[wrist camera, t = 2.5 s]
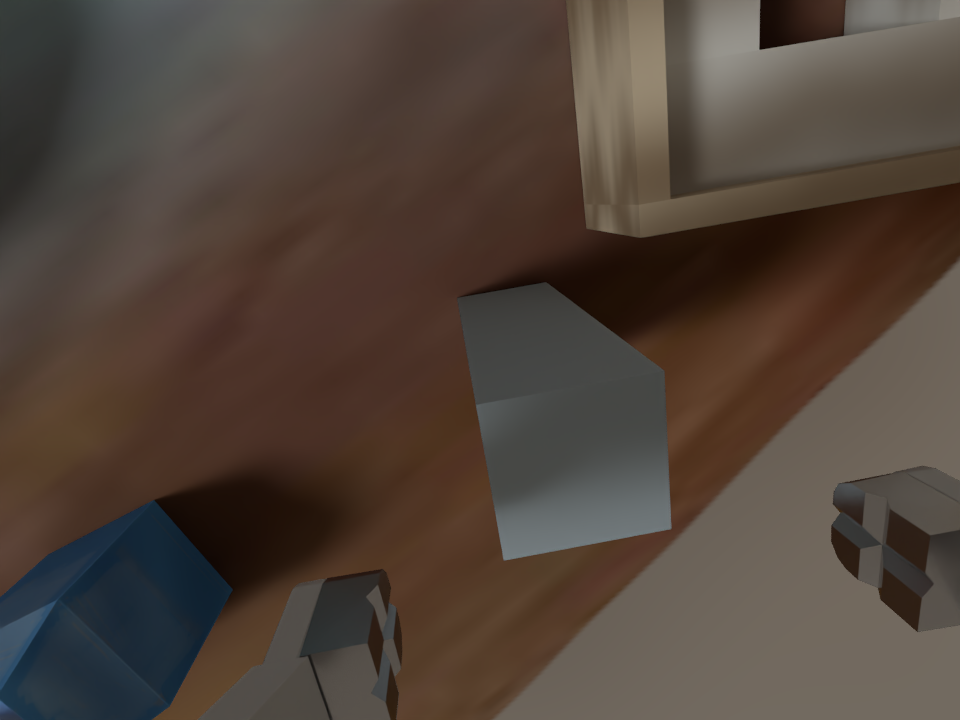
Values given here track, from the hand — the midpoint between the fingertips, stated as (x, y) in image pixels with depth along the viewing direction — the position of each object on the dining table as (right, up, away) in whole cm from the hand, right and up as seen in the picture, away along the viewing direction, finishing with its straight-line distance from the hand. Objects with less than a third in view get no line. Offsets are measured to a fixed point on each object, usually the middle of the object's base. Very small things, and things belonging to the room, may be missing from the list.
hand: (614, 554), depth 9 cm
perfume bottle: (-19, -7, +16) cm, 26 cm away
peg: (-1, +5, +13) cm, 14 cm away
